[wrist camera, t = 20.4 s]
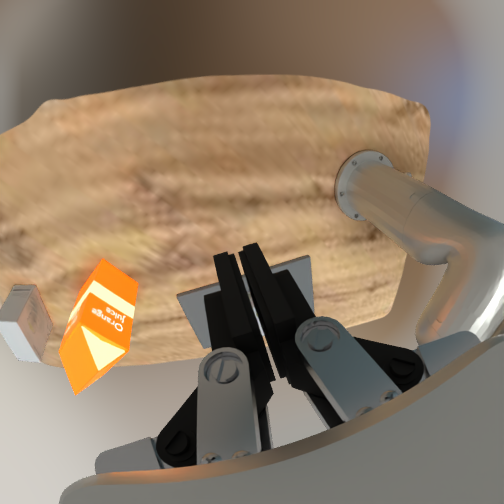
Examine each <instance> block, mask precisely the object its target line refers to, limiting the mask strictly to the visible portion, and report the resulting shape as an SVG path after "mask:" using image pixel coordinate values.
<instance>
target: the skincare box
mask: <svg viewBox="0 0 504 504" xmlns="http://www.w3.org/2000/svg"><path fill="white" fill-rule="evenodd" d="M52 326H53V324H52V322H51V320H50V318H49V315H48V313H47V311H46V309H45V306H44V304H43V302H42V299H41V297H40V294H39V292H38V289H37V287H36V285H14V287H13V288H12V290H11V292H10V294H9V295H8V297H7V299H6V301H5V302H4V304H3V306H2V308H1V309H0V332H1V334H2V336H3V337H4V339H5V341H6V342H7V344H8V345H9V347H10V348H11V350H12V352H13V353H14V355H15V356H16V358H17V359H18V360H20V361H27V362H38V363H41V360H42V356H43V353H44V350H45V346H46V343H47V340H48V337H49V335H50V332H51V329H52Z"/></svg>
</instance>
